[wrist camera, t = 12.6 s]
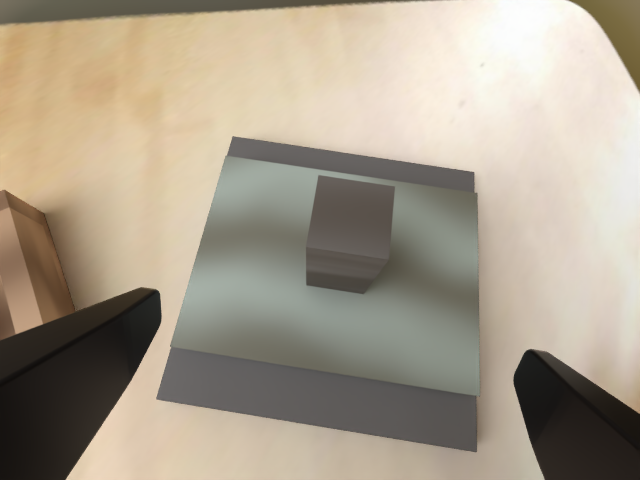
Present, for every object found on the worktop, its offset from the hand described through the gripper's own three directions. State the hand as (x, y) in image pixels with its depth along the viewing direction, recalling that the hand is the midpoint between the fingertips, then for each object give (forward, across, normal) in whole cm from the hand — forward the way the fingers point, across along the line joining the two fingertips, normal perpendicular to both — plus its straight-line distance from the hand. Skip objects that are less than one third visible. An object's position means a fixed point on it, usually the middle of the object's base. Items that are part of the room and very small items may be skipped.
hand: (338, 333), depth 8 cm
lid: (+11, 0, +4) cm, 11 cm away
